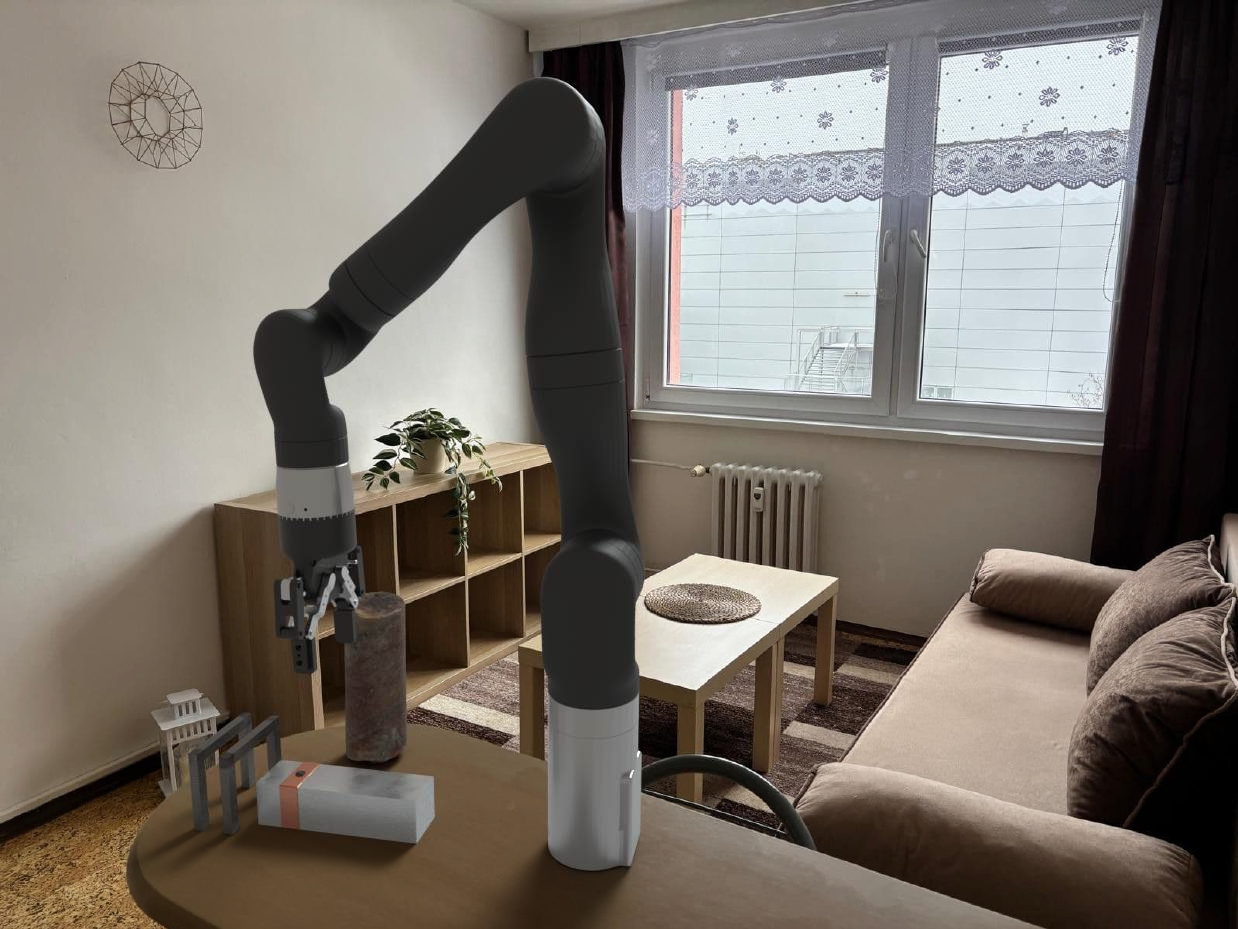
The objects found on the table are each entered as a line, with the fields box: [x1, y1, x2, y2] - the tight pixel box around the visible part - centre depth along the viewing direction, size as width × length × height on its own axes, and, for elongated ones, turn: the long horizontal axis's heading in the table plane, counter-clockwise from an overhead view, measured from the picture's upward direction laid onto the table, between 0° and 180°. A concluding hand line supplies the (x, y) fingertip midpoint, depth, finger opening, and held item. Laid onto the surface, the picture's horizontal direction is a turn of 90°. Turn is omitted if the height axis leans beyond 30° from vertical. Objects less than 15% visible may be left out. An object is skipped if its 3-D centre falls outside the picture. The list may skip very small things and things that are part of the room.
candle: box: [344, 591, 408, 764], centre depth 111 cm, size 8×7×20 cm
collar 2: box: [218, 715, 283, 836], centre depth 100 cm, size 1×10×9 cm, turn 169°
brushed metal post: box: [255, 759, 436, 845], centre depth 99 cm, size 18×5×5 cm, turn 80°
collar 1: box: [187, 712, 257, 832], centre depth 101 cm, size 1×10×9 cm, turn 169°
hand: (327, 656), depth 96 cm, fingers open, 8 cm apart
